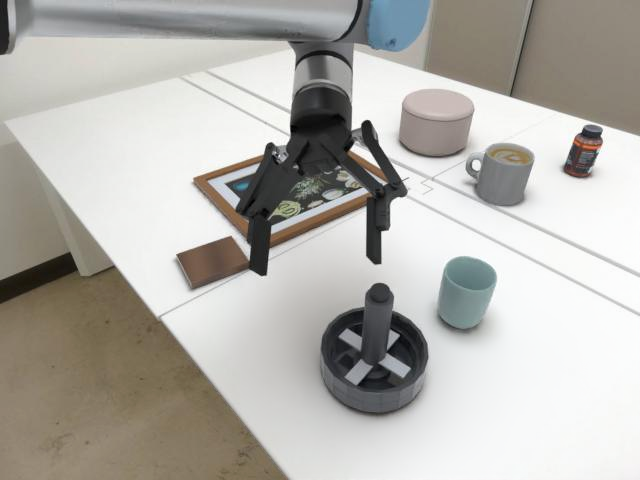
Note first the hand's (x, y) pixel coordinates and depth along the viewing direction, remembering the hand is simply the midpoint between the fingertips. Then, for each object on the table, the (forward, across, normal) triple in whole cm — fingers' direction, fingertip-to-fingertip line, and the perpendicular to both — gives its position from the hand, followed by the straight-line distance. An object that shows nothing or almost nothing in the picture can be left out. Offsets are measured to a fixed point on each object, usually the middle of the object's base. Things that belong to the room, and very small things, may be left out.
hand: (312, 267), depth 48 cm
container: (-56, -2, -64) cm, 85 cm away
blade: (+7, +1, -24) cm, 25 cm away
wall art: (-36, +25, -41) cm, 60 cm away
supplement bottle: (-44, -35, -70) cm, 90 cm away
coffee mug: (-36, -16, -58) cm, 70 cm away
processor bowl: (+7, +2, -25) cm, 26 cm away
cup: (-2, -10, -35) cm, 37 cm away
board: (-12, +32, -23) cm, 41 cm away
